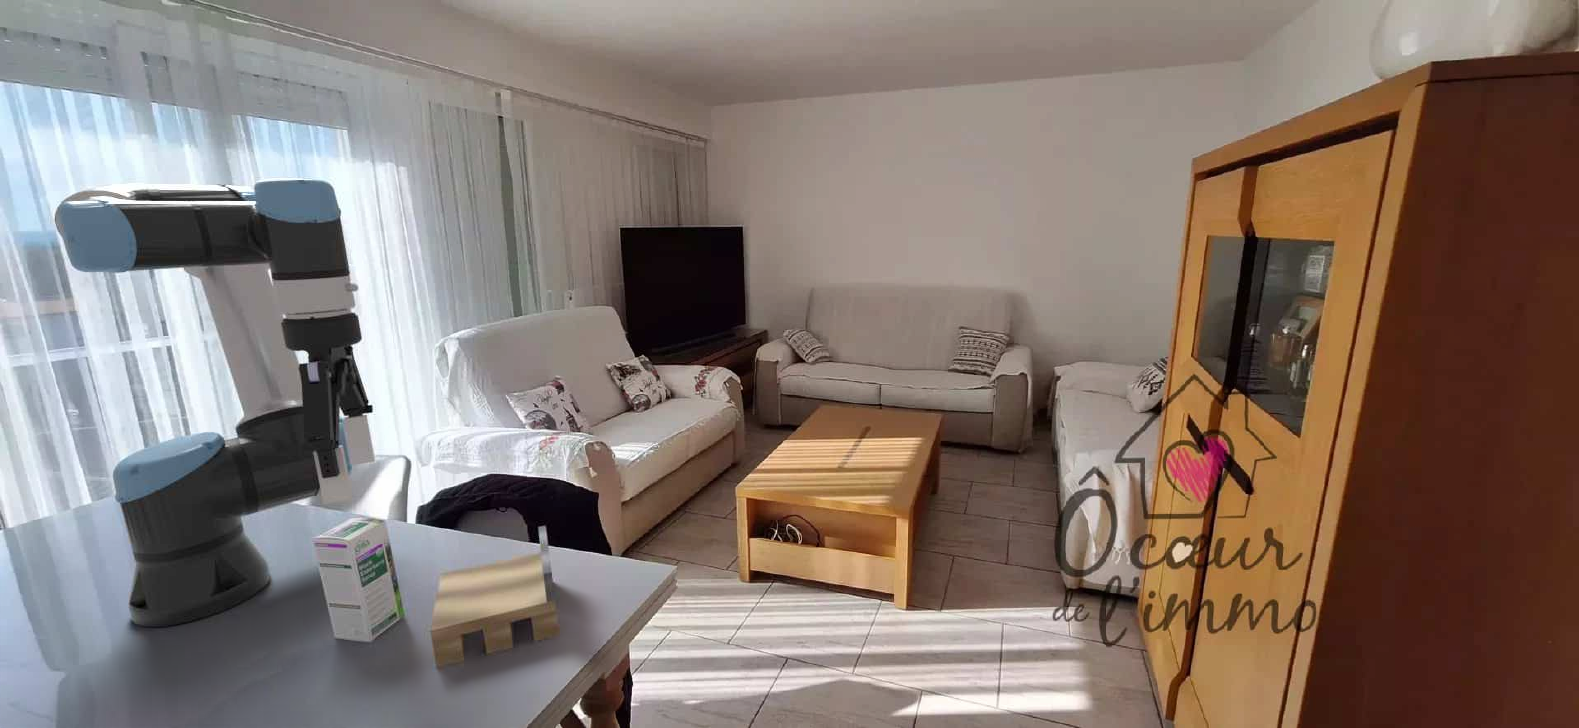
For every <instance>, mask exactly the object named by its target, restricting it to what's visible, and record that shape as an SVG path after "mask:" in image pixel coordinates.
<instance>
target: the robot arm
mask: <svg viewBox="0 0 1579 728" xmlns="http://www.w3.org/2000/svg"><path fill="white" fill-rule="evenodd" d="M341 215H342V209H341V208H340V207H339V204H338V200H337V196H336V192H335V189H334V187H333V186H332V184H331V183H329V182H327V181H325V180H322V179H321V180H320V179H311V178H310V179H309V178H308V179H307V178H266V179H261V180H258V181H257V182H255V184H254V186H253V188H252V187H249V186H240V185H239V186H238V185H229V184H224V183H218V184H216V185H211V184H210V185H207V184H205V185H202V184H169V183H167V184H158V183H157V184H156V183H155V184H154V183H119V184H110V185H104V186H99V187H94V188H90V189H85V190H82V191H77V192H75V193H73V194H71V195H70V196H68V197H66V198H65V199H64V200H62V201H61V202H60V204H59V205H58V206H57V207H56V210H55V213H54V223H55V227H56V230H57V232H58V233H59V235H60V236H61V238H62V242H63V245H64V248H65V251H66V255H67V258H68V259H69V261H70V265H71V266H72V267H73V268H74V269H76V270H77V271H79V272H84V273H106V272H107V273H111V274H113V273H115V274H117V273H119V274H120V273H121V274H122V273H126V272H134V271H135V272H136V271H138V272H139V271H148V270H149V271H150V270H151V271H153V270H164V269H165V270H166V269H180V268H181V269H182V268H183V271H184V272H185V273H187V274H188V275H189V276H192V277H193V278H198V279H199V280H200V282H201V285H202V289H203V292H204V295H205V297H206V301H207V304H208V308H209V310H210V313H211V317H212V319H213V322H214V326H215V329H216V332H217V335H218V338H219V341H220V344H221V347H222V349H223V354H224V356H225V360H226V362H227V365H228V368H229V372H230V375H231V378H232V381H233V384H234V387H235V390H236V394H237V396H238V399H239V403H240V405H241V406H240V407H241V409H242V411H243V416H242V417H241V419H240V420H239V422H238V423H237V424H236V425H235V428H234V429H235V433H236V435H237V437H234V438H230V439H226V440H225V438H224V437H223V436H222V434H220V433H218V432H214V431H206V432H201V433H197V434H188V435H184V436H179V437H176V438H172V439H168V440H165V441H162V442H159V443H158V442H157V443H156V444H153V445H150V446H148V447H145V448H142V449H140V450H138V451H135V452H133V453H132V454H130V455H128V456H126V457H124V459H122V460H121V461H119V462H118V463H117V464H116V466H115V467H114V469H113V472H112V479H113V484H114V489H115V495H114V499H115V501H116V503H119V505H120V509H121V514H122V518H123V521H124V525H125V528H126V533H127V537H128V541H129V544H130V548H131V551H132V554H133V559H134V562H135V567H134V573H133V577H132V583H131V589H130V595H129V599H128V610H129V614H130V617H131V620H132V622H133V623H134V624H135V625H137V626H140V627H147V628H158V627H159V628H160V627H168V626H173V625H174V626H175V625H179V624H185V623H190V622H193V621H197V620H201V619H203V618H206V617H210V616H212V615H215V614H218V613H221V612H223V611H225V610H228V609H231V608H233V607H234V606H236V605H238V604H240V603H243V602H245V601H246V600H248V599H251V597H254V595H256V594H258V593H259V592H260V591H261V590H262V589H264V588H265V587H266V586H267V584H268V583H269V581H270V580H271V573H270V568H269V564H268V562H267V560H266V558H264V556H263V555H262V554H261V553H260V551H259V550H258V548H257V547H256V546H255V545H254V543H253V542H252V541H251V540H250V538H249V536H247V534H246V533H245V528H244V525H243V521H242V517H245V516H249V515H252V514H256V513H260V512H263V511H266V510H270V509H273V508H277V507H281V506H284V505H288V504H292V503H294V502H297V501H301V500H302V501H303V500H305V499H308V498H312V497H313V498H318V497H319V496H320V495H321V497H322V502H323V505H325V504H326V505H327V504H333V503H339V502H343V501H345V502H346V501H351V500H352V499H353V496H354V495H353V492H352V487H351V481H350V477H351V474H352V470H353V468H352V467H353V466H354V465H362V464H368V463H374V462H376V461H375V460H376V459H375V453H374V447H373V442H372V436H371V430H370V426H369V421H368V420H369V419H368V414H372V413H374V409H373V408H374V407H373V405H372V404H369V403H370V402H369V399H368V396H367V393H366V390H365V387H364V383H363V381H362V378H361V377H362V376H361V374H360V371H359V369H358V366H357V363H356V362H357V361H356V359H355V355H354V347H353V345H357V344H359V343H360V342H361V341H362V339H363V338H362V332H361V331H362V329H361V325H360V320H359V315H358V314H357V313H356V312H353V311H351V310H352V309H354V308H355V307H356V299H355V295H354V292H357V291H358V290H359V286H358V284H357V283H355V282H353V283H351V281H352V278H351V276H350V275H351V273H350V266H349V259H348V254H347V249H346V242H345V237H344V231H343V225H342V217H341ZM269 270H270V273H269ZM270 275H271V276H270ZM284 315H285V316H284ZM284 317H285V318H284ZM301 351H304V352H306V353H307V355H308V356H307V358H308V362H306V363H305V362H304V363H299V360H298V356H297V353H296V352H301ZM340 411H341V413H342V414H343V416H344V417H342V416H340Z"/></svg>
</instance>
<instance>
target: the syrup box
mask: <svg viewBox="0 0 1579 728" xmlns="http://www.w3.org/2000/svg"><path fill="white" fill-rule="evenodd" d="M312 545H313V548H314V553H315V556H316V562H317V567H318V570H319V574H320V578H321V584H322V587H323V593H324V597H325V600H326V601H325V602H326V605H327V610H328V613H329V617H330V622H331V623H330V624H331V626H332V631H333V636H334V637H335V638H336V639H340V640H347V641H352V642H353V641H355V642H364V643H372V642H374V640H376V638H377V637H379V636H380V635H381V634H382V633H385V631H388V629H389V628H390V627H392V626H393V625H394V624H396V623H397V622H399V621H401V620H402V619H403V618H404V617H405V611H404V606H403V602H402V597H401V596H402V595H401V591H400V586H399V582H398V576H397V571H396V565H395V561H394V557H393V553H392V547H391V541H390V536H389V531H388V526H387V522H386V520H384V519H378V518H370V517H356V518H355V517H354V518H353V517H350V518H349V519H347V520H346V521H345V522H343V523H341V524H339V525H337V526H335V527H333V528H331V529H329V530H327V531H325V532H324V533H321V534H320V535H317V536H315V537H313V538H312Z"/></svg>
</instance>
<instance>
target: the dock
mask: <svg viewBox="0 0 1579 728" xmlns="http://www.w3.org/2000/svg"><path fill="white" fill-rule="evenodd" d="M547 533H548V532H547V526H546V525H542V526H538V537H539V546H540V548H539V549H540V552H537V553H533V554H527V555H522V556H518V557H517V556H516V557H514V558H509V559H504V560H499V561H495V562H489V563H485V564H480V565H475V566H470V567H466V568H461V569H457V570H452V571H447V572H442V573H440V578H439V583H438V588H437V595H436V599H435V605H434V609H433V615H432V620H431V625H430V630H429V632H430V638H431V643H432V648H433V649H432V650H433V653H434V659H435V666H436V668H440V667H444V666H448V665H452V664H455V663H458V662H463V661H465V657H466V649H467V638H468V637H467V636H468V634H469V633H474V632H477V631H480V630H482V631H483V632H482V633H483V638H484V645H485V649H486V650H485V651H486V655H488V654H493V653H497V652H500V651H504V650H508V649H512V648H514V623H513V622H517V621H521V620H525V619H529V618H531V625H532V633H533V641H534V642H539V641H542V640H547V639H549V638H554V637H558V636H560V628H559V620H558V613H557V603H556V596H555V588H554V579H553V573H552V565H551V557H550V549H549V541H548V534H547Z"/></svg>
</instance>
